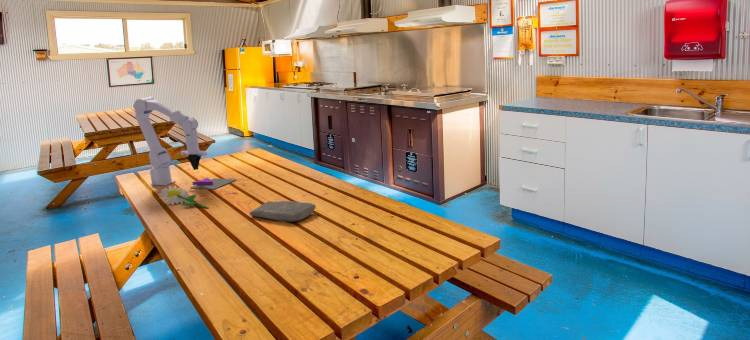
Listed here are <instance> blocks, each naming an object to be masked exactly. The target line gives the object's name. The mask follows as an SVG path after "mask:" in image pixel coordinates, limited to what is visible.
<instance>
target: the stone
mask: <svg viewBox="0 0 750 340" xmlns="http://www.w3.org/2000/svg"><path fill="white" fill-rule="evenodd" d="M316 207H317V206H316V204H315V203H312V202H301V201H290V200H287V201H286V200H280V201H266V202H264V203H263V204H261V205H260V206H258V207H256V208H255V209H252V211H250V212H249V215H250V216H251V217H256V218H263V219H267V220H275V221H281V222H290V223H291V222H292V223H296V222H300V221H302V220H304V219H305V218H307V217H309V216H310V215H311V214H312V213H313V212H314V211H315V209H316Z"/></svg>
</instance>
